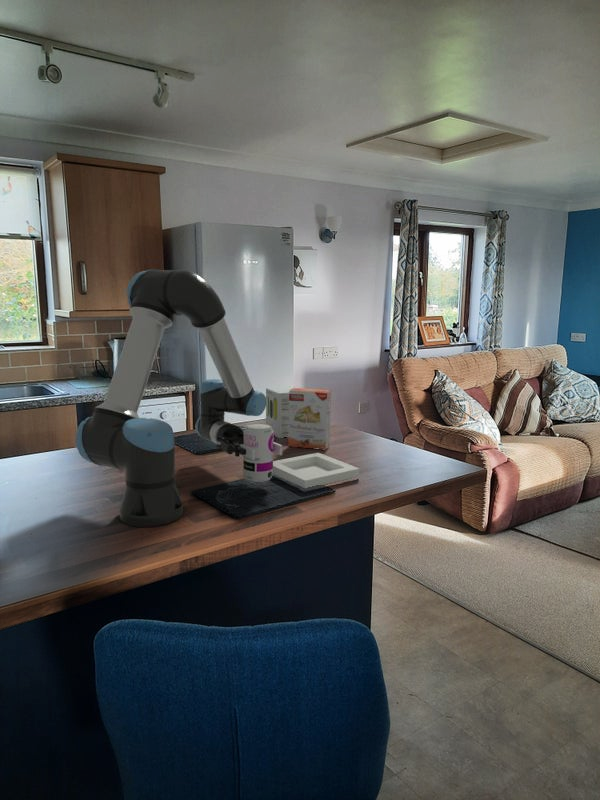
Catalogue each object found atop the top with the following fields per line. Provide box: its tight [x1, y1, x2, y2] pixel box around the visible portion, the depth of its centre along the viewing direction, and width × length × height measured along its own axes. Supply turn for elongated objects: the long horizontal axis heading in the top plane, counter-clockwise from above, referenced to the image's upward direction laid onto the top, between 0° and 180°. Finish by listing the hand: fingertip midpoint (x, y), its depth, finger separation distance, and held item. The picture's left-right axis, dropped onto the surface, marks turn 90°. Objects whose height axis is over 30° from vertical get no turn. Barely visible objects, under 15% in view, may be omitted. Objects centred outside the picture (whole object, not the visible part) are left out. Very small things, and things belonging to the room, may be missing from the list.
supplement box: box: [265, 385, 300, 439], centre depth 221 cm, size 13×13×18 cm
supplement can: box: [242, 422, 275, 483], centre depth 158 cm, size 8×8×15 cm
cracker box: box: [287, 387, 332, 450], centre depth 202 cm, size 14×6×21 cm, turn 73°
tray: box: [273, 452, 360, 488], centre depth 171 cm, size 20×20×4 cm
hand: (267, 452), depth 154 cm, fingers closed on supplement can, 8 cm apart
